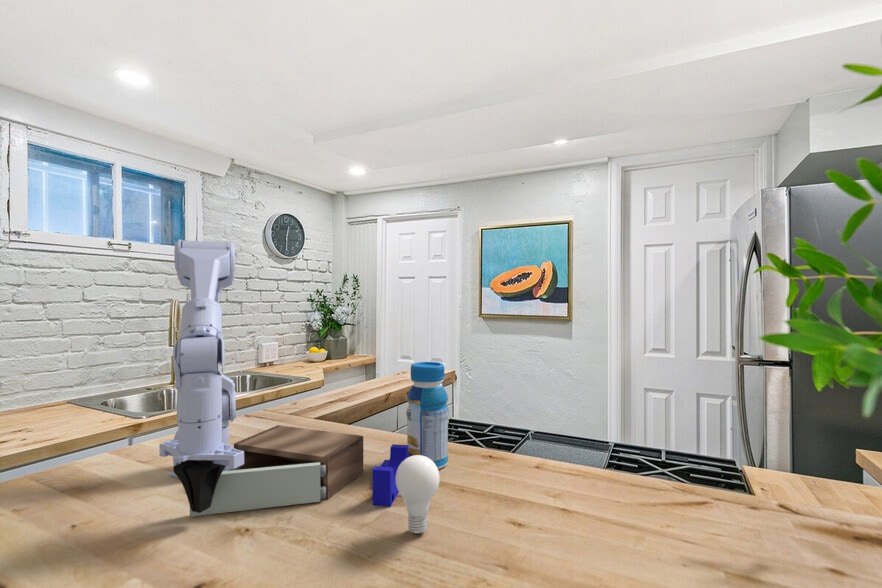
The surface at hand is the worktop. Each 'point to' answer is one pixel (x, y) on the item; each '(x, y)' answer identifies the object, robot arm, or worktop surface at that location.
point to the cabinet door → (267, 488)
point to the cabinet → (306, 453)
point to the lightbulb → (417, 489)
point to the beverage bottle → (428, 413)
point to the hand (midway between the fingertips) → (201, 509)
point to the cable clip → (388, 476)
